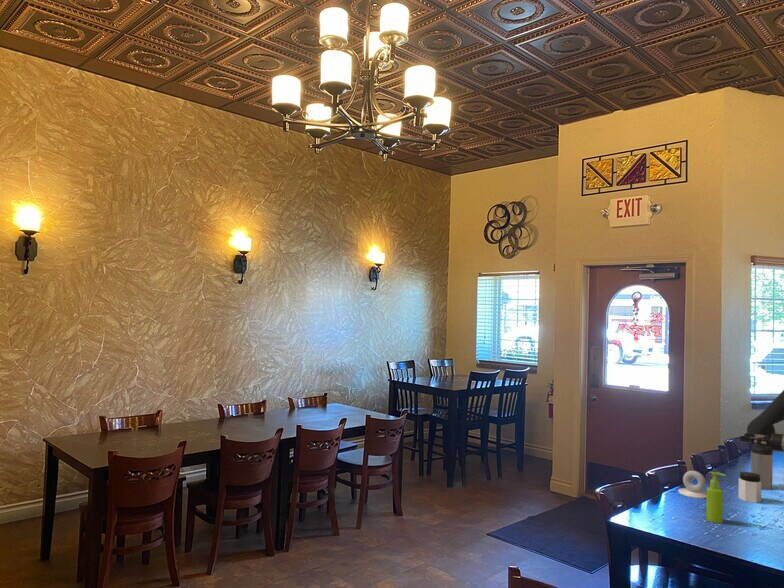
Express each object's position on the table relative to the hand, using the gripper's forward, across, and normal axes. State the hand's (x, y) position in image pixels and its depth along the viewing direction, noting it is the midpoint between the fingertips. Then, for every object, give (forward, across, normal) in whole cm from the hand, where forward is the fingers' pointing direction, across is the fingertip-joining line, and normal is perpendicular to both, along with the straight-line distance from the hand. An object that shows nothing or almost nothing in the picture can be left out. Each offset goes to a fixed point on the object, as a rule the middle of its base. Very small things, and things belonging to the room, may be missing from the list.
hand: (742, 436), depth 264 cm
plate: (+19, +5, +30) cm, 36 cm away
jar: (-2, -7, +30) cm, 31 cm away
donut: (+19, +5, +29) cm, 35 cm away
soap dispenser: (+2, +38, +30) cm, 49 cm away
